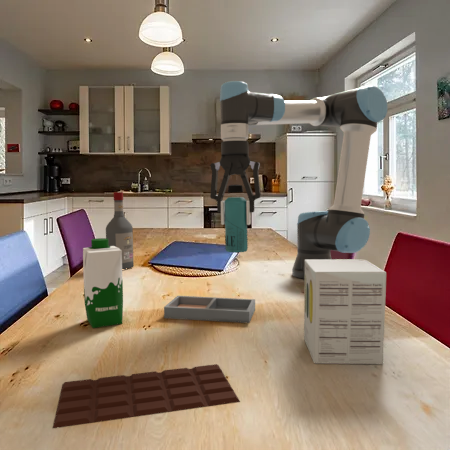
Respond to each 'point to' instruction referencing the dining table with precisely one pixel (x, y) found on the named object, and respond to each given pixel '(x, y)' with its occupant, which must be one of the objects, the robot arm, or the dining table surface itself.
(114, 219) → the liquor
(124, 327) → the dining table surface
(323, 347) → the supplement box
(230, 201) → the beverage bottle
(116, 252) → the milk carton
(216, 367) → the chocolate bar
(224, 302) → the tray
